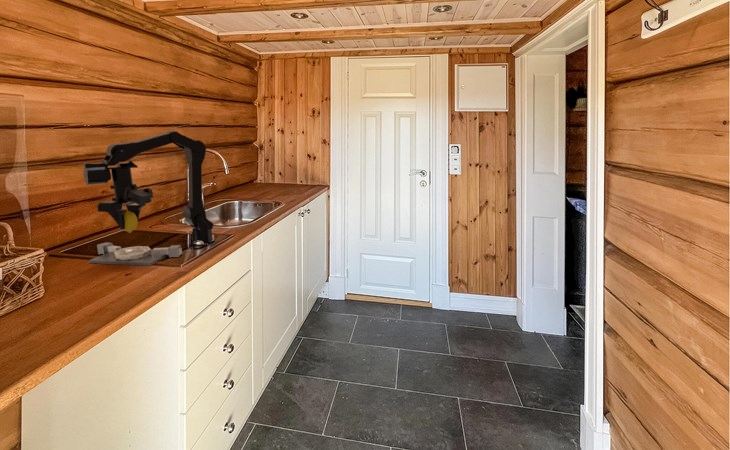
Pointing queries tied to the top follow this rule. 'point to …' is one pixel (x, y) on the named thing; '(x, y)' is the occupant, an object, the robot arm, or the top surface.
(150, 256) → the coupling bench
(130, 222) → the lemon
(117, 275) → the top surface
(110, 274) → the top surface
